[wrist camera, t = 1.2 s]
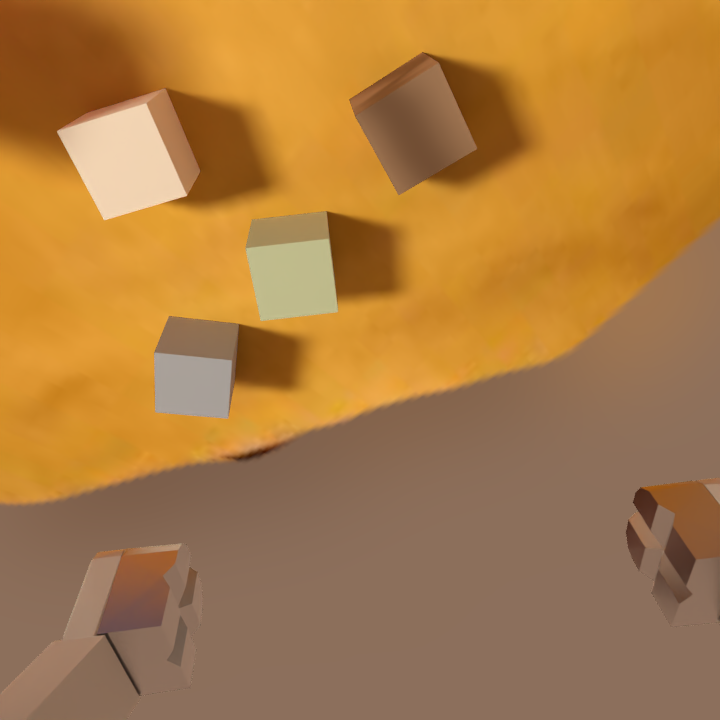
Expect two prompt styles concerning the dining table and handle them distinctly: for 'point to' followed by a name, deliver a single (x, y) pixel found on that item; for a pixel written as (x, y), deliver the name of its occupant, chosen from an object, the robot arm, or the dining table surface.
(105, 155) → the cube offwhite
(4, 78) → the dining table surface
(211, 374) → the cube slate
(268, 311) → the cube sage
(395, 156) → the cube walnut
